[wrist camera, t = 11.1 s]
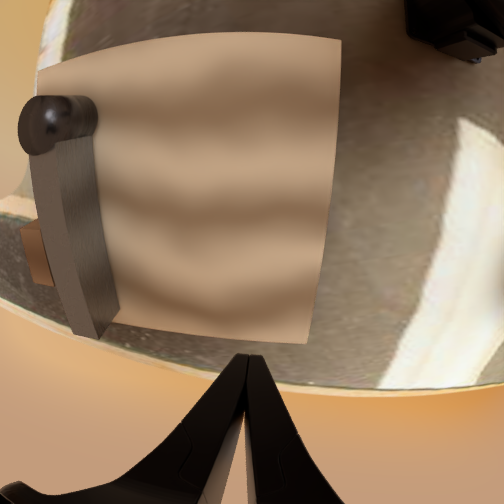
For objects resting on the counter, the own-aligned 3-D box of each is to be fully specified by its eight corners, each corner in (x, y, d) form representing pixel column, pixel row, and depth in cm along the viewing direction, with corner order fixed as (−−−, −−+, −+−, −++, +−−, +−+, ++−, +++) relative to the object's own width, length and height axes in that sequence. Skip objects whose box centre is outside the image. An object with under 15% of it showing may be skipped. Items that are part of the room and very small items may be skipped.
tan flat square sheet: (45, 71, 15) (38, 71, 14) (338, 44, 14) (341, 40, 13) (74, 307, 25) (69, 312, 24) (305, 335, 23) (306, 343, 23)
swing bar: (59, 101, 15) (17, 103, 11) (97, 90, 15) (56, 88, 11) (91, 304, 22) (65, 336, 18) (126, 309, 22) (102, 344, 18)
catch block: (51, 210, 19) (19, 228, 16) (72, 210, 19) (39, 229, 16) (61, 259, 21) (33, 282, 18) (81, 262, 21) (54, 286, 17)
